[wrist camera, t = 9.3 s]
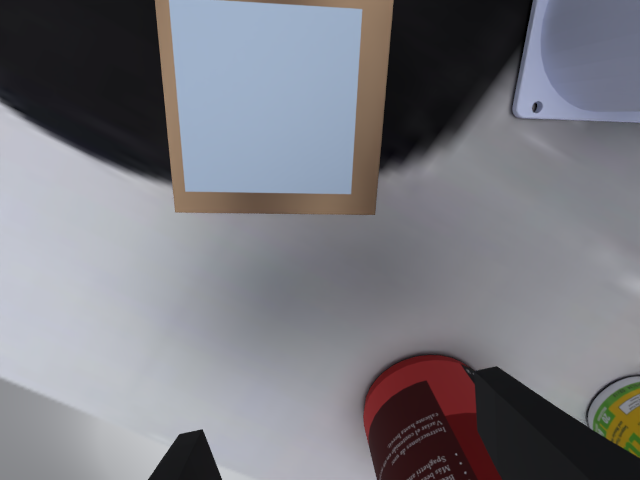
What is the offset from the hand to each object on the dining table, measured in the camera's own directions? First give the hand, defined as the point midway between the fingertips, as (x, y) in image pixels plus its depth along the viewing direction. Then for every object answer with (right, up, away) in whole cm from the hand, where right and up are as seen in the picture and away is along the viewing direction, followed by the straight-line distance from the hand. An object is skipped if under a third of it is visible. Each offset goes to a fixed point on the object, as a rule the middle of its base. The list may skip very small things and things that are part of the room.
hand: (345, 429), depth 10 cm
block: (-2, +10, +5) cm, 12 cm away
